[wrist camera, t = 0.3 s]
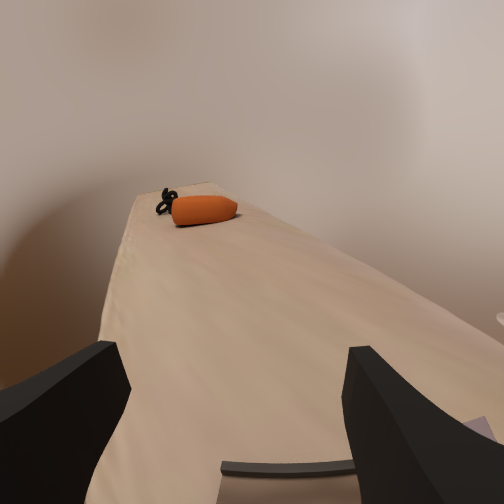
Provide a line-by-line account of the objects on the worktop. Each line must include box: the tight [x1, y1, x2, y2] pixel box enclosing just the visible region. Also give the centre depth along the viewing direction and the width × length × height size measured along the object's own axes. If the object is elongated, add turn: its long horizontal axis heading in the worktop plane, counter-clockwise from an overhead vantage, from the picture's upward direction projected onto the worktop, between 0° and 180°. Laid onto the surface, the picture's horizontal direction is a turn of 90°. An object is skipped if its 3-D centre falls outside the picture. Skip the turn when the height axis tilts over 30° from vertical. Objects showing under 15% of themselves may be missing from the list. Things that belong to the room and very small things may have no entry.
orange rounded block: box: [171, 196, 237, 225], centre depth 111 cm, size 12×11×25 cm
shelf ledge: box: [216, 459, 361, 504], centre depth 17 cm, size 8×22×2 cm, turn 84°
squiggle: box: [156, 188, 178, 214], centre depth 134 cm, size 11×10×15 cm
